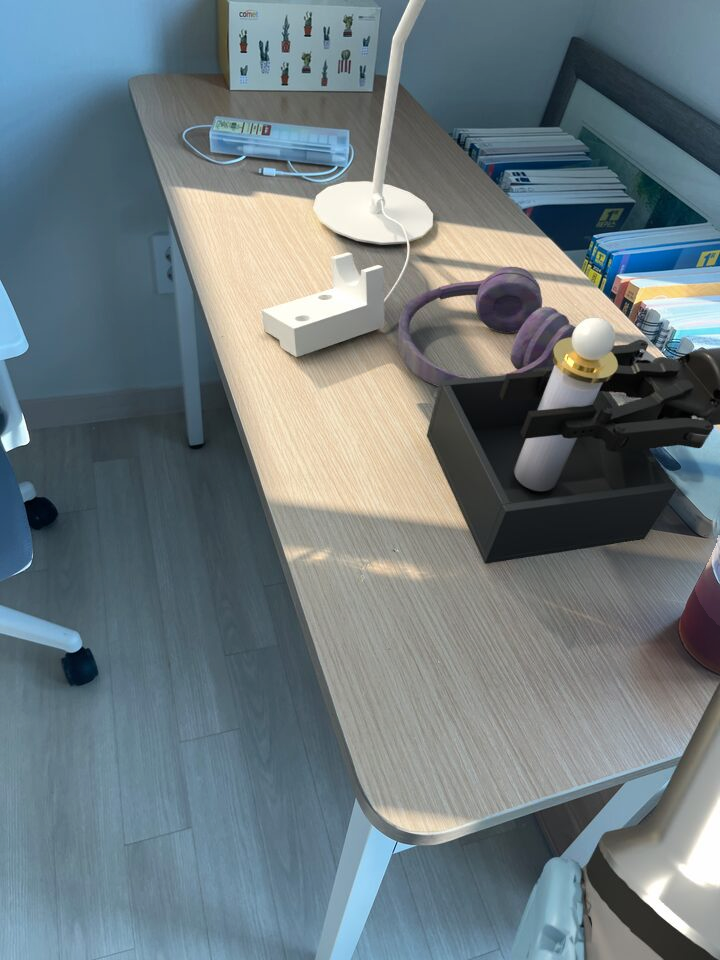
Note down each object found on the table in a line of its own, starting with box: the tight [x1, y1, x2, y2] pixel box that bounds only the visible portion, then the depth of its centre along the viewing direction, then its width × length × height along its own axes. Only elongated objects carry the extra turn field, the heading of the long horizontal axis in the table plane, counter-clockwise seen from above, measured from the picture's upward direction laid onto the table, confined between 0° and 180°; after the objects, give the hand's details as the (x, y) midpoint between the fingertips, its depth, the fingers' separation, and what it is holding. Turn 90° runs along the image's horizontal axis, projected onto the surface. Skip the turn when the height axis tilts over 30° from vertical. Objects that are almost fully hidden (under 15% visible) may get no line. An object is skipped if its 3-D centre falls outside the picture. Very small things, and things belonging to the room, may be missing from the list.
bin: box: [426, 375, 678, 565], centre depth 76 cm, size 18×18×8 cm
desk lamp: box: [312, 0, 434, 304], centre depth 92 cm, size 37×18×45 cm, turn 14°
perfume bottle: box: [514, 316, 618, 491], centre depth 71 cm, size 6×6×20 cm
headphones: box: [398, 266, 576, 387], centre depth 91 cm, size 18×8×20 cm
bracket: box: [261, 251, 385, 358], centre depth 91 cm, size 13×7×8 cm, turn 127°
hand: (515, 405), depth 69 cm, fingers closed on perfume bottle, 4 cm apart
